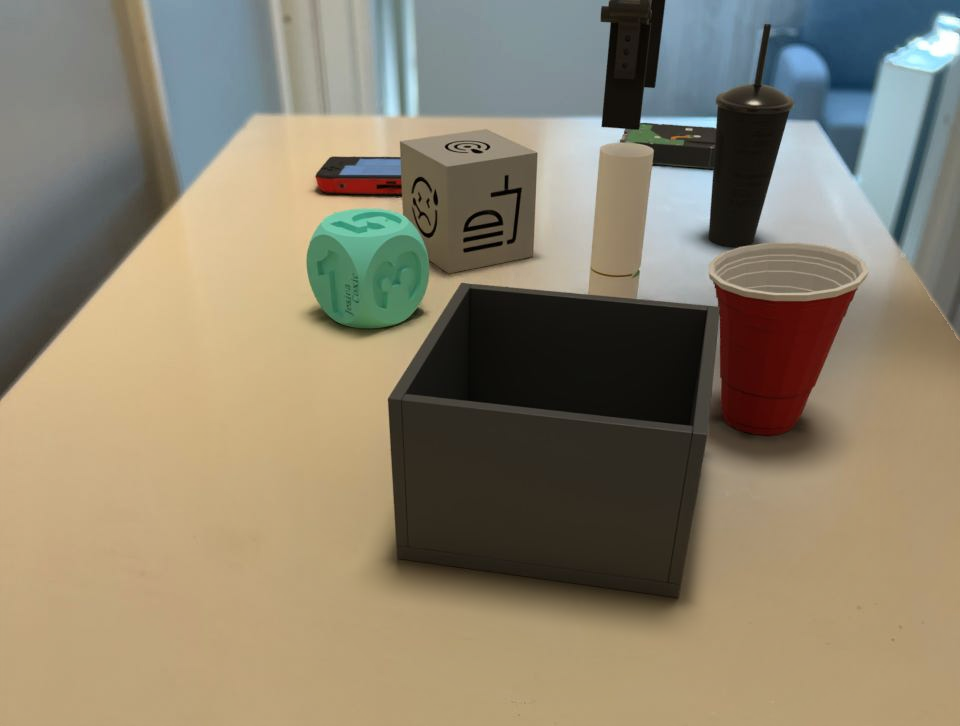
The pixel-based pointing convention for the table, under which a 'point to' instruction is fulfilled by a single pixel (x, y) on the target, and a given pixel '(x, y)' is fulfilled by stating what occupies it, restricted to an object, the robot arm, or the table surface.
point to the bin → (555, 436)
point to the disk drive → (676, 143)
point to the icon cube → (470, 198)
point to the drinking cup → (745, 154)
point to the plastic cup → (778, 327)
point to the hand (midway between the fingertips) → (630, 105)
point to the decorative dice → (367, 267)
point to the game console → (360, 175)
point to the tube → (620, 219)
